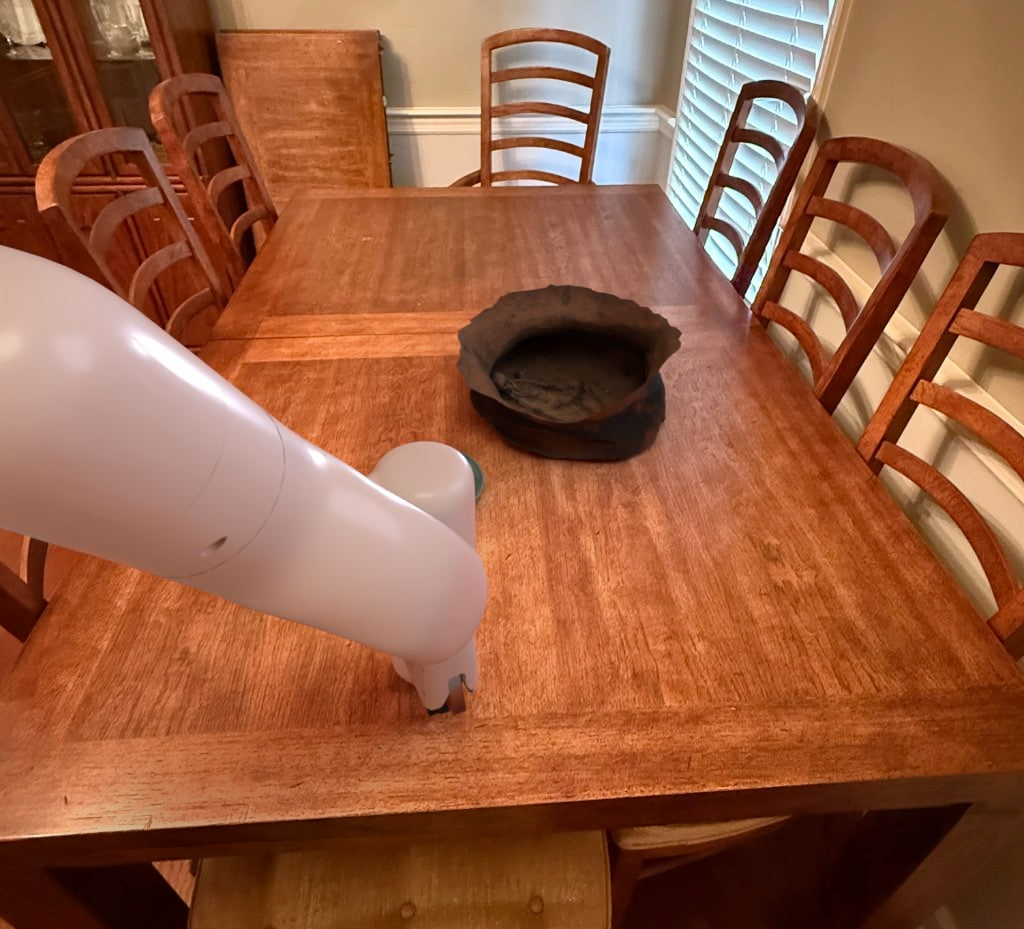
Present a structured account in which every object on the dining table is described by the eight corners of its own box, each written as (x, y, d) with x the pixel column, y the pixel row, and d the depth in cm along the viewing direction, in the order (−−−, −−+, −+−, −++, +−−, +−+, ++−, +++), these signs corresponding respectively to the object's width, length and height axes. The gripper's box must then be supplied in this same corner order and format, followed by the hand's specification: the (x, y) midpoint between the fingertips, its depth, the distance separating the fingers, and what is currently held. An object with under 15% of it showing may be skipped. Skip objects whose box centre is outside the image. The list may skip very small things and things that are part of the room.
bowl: (663, 500, 97) (675, 418, 86) (436, 473, 103) (422, 393, 93) (676, 358, 121) (686, 280, 110) (491, 343, 127) (484, 268, 117)
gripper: (360, 534, 60) (381, 659, 72) (418, 668, 50) (432, 789, 62) (440, 510, 63) (448, 634, 75) (511, 632, 53) (508, 754, 64)
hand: (441, 704), depth 68 cm, fingers closed
